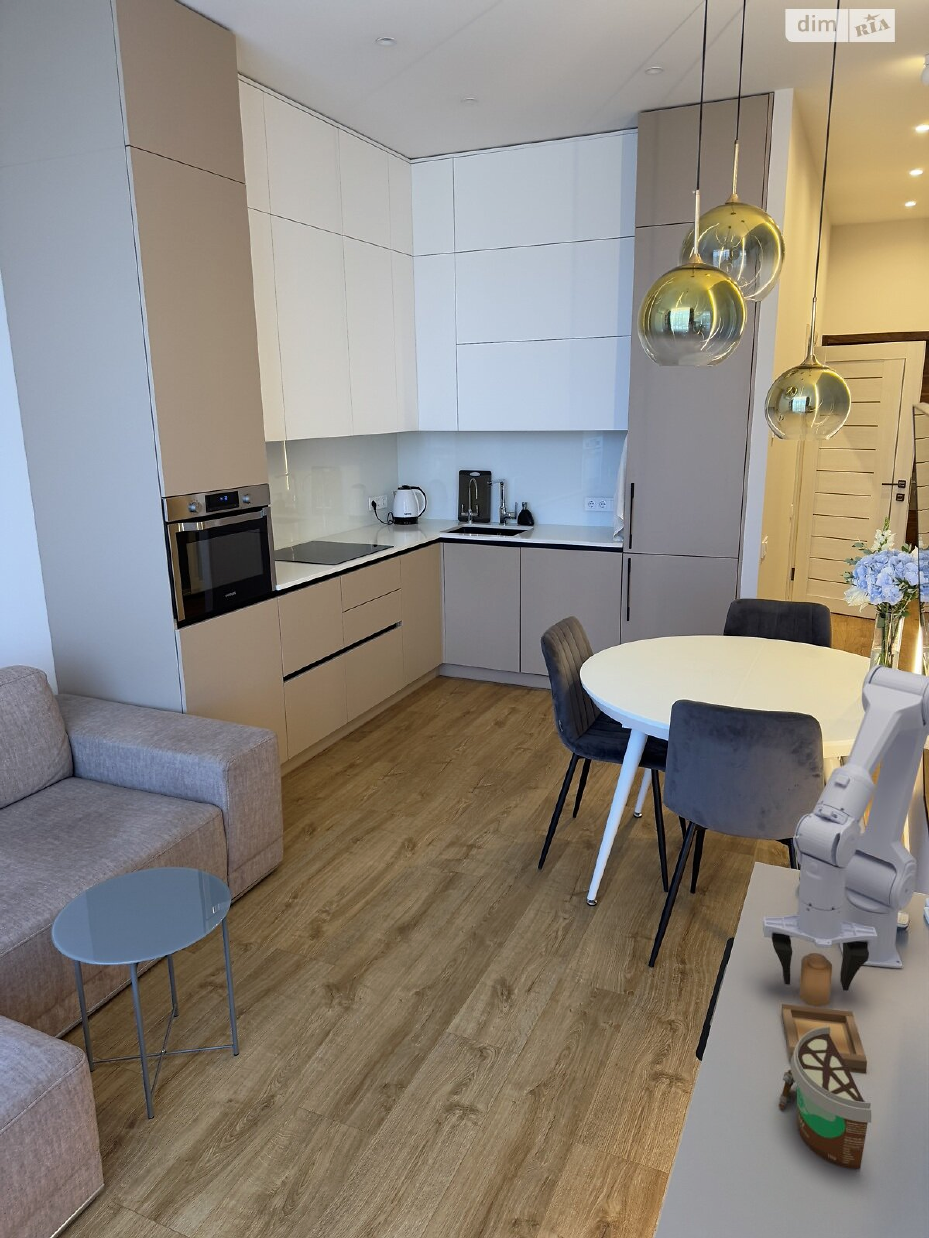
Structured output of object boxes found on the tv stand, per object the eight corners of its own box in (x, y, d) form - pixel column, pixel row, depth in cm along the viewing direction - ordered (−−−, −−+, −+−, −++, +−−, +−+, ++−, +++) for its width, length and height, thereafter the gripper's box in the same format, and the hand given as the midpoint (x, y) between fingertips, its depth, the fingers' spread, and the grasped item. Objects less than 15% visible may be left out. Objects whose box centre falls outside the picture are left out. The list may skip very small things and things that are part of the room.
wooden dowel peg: (797, 985, 123) (799, 948, 121) (826, 988, 122) (829, 951, 120) (801, 1004, 119) (804, 966, 117) (832, 1008, 118) (835, 969, 116)
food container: (772, 1092, 105) (776, 1024, 102) (823, 1091, 105) (828, 1023, 102) (808, 1181, 93) (814, 1107, 90) (865, 1181, 93) (872, 1106, 90)
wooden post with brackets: (770, 1104, 102) (779, 1067, 102) (798, 1092, 108) (807, 1057, 108) (785, 1113, 101) (794, 1076, 101) (812, 1100, 106) (821, 1065, 106)
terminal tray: (781, 1014, 117) (781, 1003, 117) (851, 1022, 115) (852, 1011, 115) (790, 1063, 109) (791, 1052, 108) (866, 1073, 107) (867, 1061, 106)
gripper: (768, 910, 114) (764, 995, 118) (885, 920, 111) (877, 1008, 114) (763, 881, 121) (758, 963, 124) (873, 890, 117) (865, 974, 121)
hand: (815, 982), depth 120 cm, fingers open, 7 cm apart
